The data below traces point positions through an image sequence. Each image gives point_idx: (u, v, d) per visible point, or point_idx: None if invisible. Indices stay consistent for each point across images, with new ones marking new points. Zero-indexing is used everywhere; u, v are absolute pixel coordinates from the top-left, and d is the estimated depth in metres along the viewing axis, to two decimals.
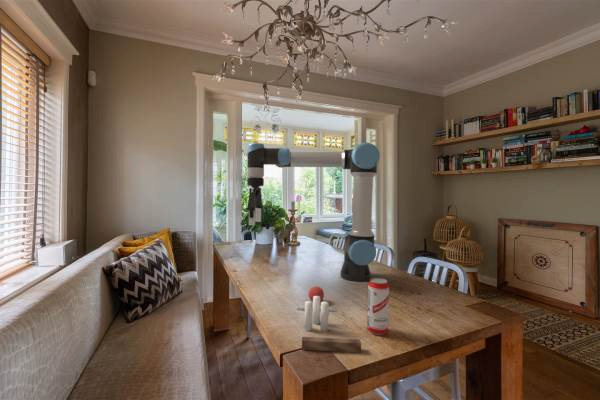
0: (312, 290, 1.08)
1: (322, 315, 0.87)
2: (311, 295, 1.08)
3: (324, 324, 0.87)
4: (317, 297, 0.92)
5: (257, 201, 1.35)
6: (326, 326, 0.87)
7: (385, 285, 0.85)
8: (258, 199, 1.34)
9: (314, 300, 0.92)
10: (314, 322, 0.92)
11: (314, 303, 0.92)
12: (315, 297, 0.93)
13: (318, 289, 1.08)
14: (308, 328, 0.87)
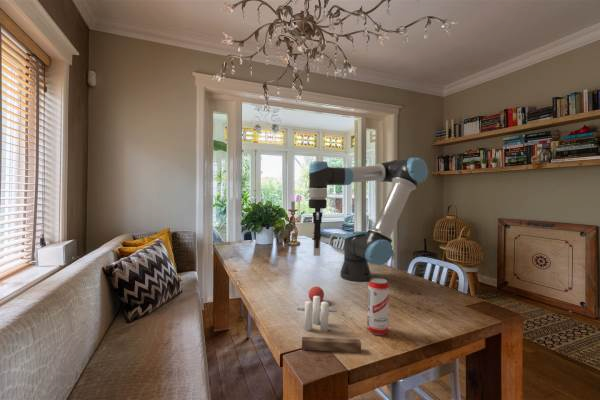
0: (312, 290, 1.08)
1: (322, 315, 0.87)
2: (311, 295, 1.08)
3: (324, 324, 0.87)
4: (317, 297, 0.92)
5: None
6: (326, 326, 0.87)
7: (385, 285, 0.85)
8: None
9: (314, 300, 0.92)
10: (314, 322, 0.92)
11: (314, 303, 0.92)
12: (315, 297, 0.93)
13: (318, 289, 1.08)
14: (308, 328, 0.87)
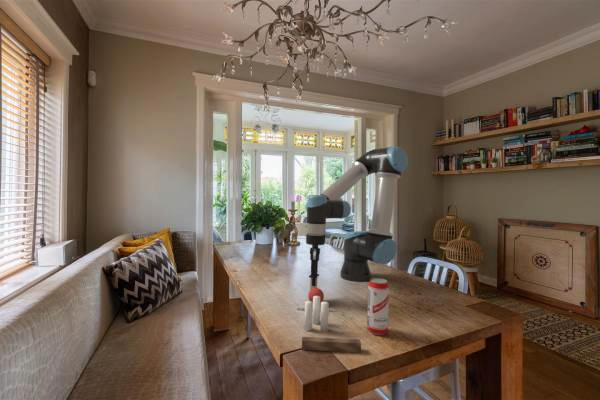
0: (312, 294, 1.06)
1: (322, 315, 0.87)
2: (311, 299, 1.06)
3: (324, 324, 0.87)
4: (317, 297, 0.92)
5: None
6: (326, 326, 0.87)
7: (385, 285, 0.85)
8: None
9: (314, 300, 0.92)
10: (314, 322, 0.92)
11: (314, 303, 0.92)
12: (315, 297, 0.93)
13: (318, 293, 1.06)
14: (308, 328, 0.87)
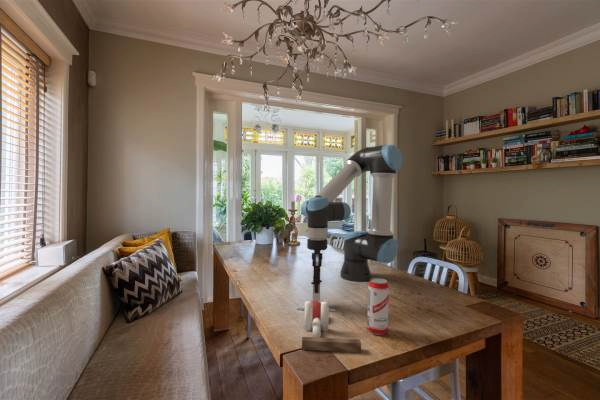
0: None
1: (322, 315, 0.87)
2: None
3: (324, 324, 0.87)
4: (317, 335, 0.83)
5: None
6: (326, 326, 0.87)
7: (385, 285, 0.85)
8: None
9: None
10: None
11: None
12: (315, 334, 0.83)
13: None
14: (308, 328, 0.87)
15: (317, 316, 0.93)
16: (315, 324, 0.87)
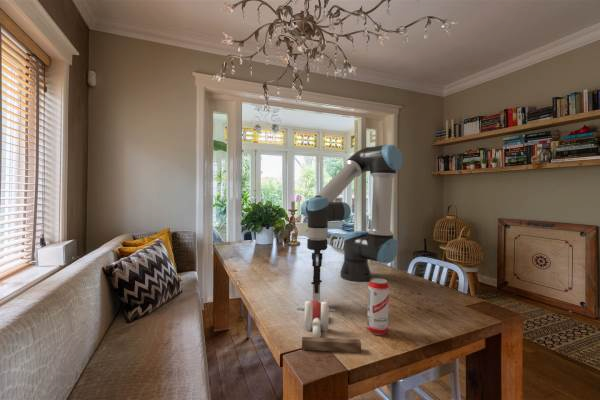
0: None
1: (322, 315, 0.87)
2: None
3: (324, 324, 0.87)
4: (317, 335, 0.83)
5: None
6: (326, 326, 0.87)
7: (385, 285, 0.85)
8: None
9: None
10: None
11: None
12: (315, 334, 0.83)
13: None
14: (308, 328, 0.87)
15: (317, 316, 0.93)
16: (315, 324, 0.87)
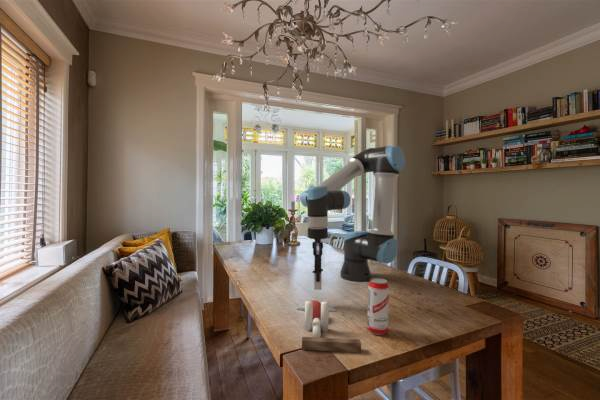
0: None
1: (322, 315, 0.87)
2: None
3: (324, 324, 0.87)
4: (317, 335, 0.83)
5: None
6: (326, 326, 0.87)
7: (385, 285, 0.85)
8: None
9: None
10: None
11: None
12: (315, 334, 0.83)
13: None
14: (308, 328, 0.87)
15: (317, 316, 0.93)
16: (315, 324, 0.87)
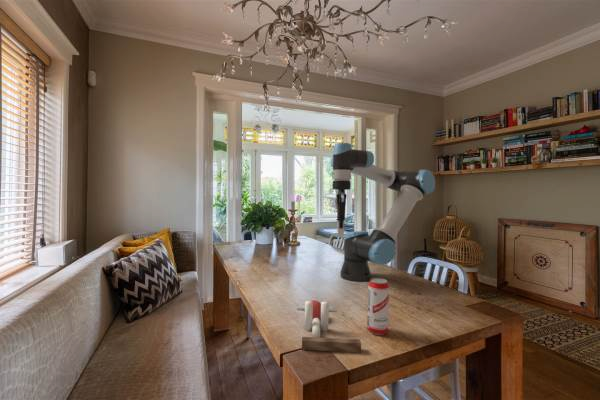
0: None
1: (322, 315, 0.87)
2: None
3: (324, 324, 0.87)
4: (317, 335, 0.83)
5: None
6: (326, 326, 0.87)
7: (385, 285, 0.85)
8: None
9: None
10: None
11: None
12: (314, 334, 0.83)
13: None
14: (308, 328, 0.87)
15: (317, 316, 0.93)
16: (315, 324, 0.87)
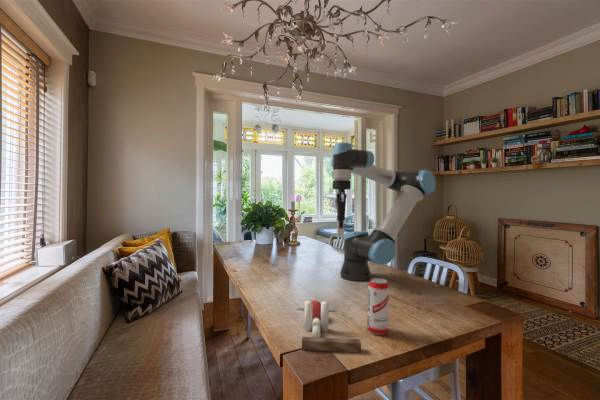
0: None
1: (322, 315, 0.87)
2: None
3: (324, 324, 0.87)
4: (317, 335, 0.83)
5: None
6: (326, 326, 0.87)
7: (385, 285, 0.85)
8: None
9: None
10: None
11: None
12: (314, 334, 0.83)
13: None
14: (308, 328, 0.87)
15: (317, 316, 0.93)
16: (315, 324, 0.87)
